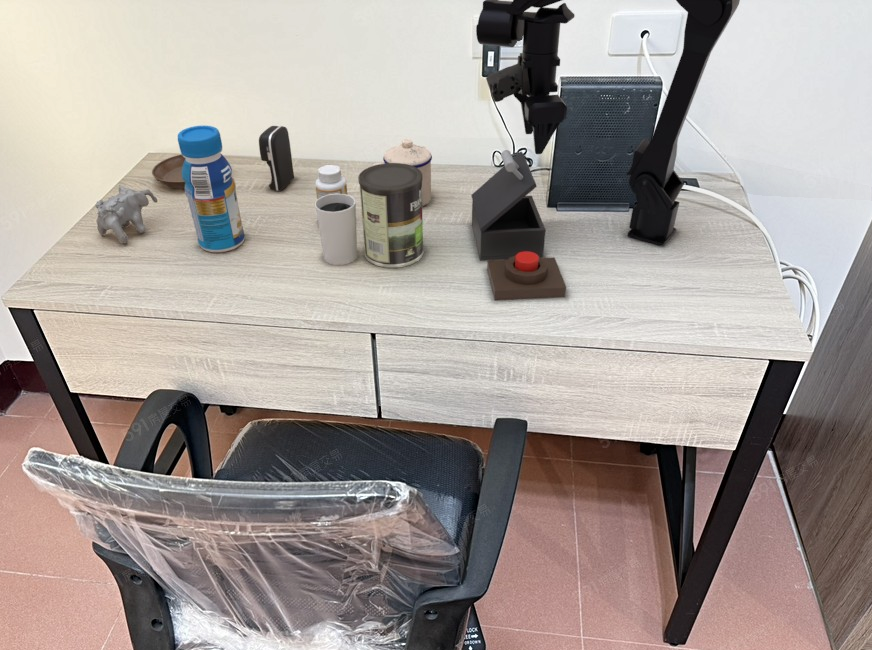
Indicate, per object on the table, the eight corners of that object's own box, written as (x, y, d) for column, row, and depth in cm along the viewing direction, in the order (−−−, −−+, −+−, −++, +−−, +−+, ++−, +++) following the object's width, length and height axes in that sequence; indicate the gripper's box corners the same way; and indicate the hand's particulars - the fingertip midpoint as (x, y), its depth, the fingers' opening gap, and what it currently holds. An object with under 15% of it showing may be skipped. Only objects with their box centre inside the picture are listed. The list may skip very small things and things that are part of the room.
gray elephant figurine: (91, 242, 128) (77, 203, 123) (129, 212, 137) (117, 174, 132) (135, 248, 126) (123, 208, 121) (171, 217, 135) (161, 179, 130)
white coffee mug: (342, 242, 125) (337, 189, 119) (367, 255, 122) (363, 202, 115) (313, 256, 122) (306, 203, 115) (338, 270, 118) (332, 216, 112)
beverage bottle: (189, 243, 127) (160, 134, 114) (227, 226, 131) (204, 118, 118) (216, 259, 122) (190, 147, 109) (255, 240, 127) (235, 130, 114)
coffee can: (428, 240, 125) (427, 163, 116) (417, 270, 117) (415, 191, 108) (371, 236, 127) (366, 160, 118) (357, 265, 119) (350, 187, 110)
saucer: (142, 179, 149) (138, 166, 147) (204, 157, 156) (201, 145, 154) (177, 201, 140) (173, 188, 138) (240, 177, 148) (238, 165, 146)
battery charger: (279, 176, 147) (270, 121, 140) (295, 178, 146) (287, 123, 139) (263, 190, 142) (254, 135, 135) (281, 192, 141) (272, 136, 134)
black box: (529, 222, 129) (532, 195, 125) (542, 258, 119) (545, 229, 116) (471, 225, 129) (472, 198, 125) (479, 261, 119) (481, 233, 116)
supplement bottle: (334, 211, 134) (329, 160, 128) (356, 220, 132) (351, 167, 125) (313, 223, 131) (307, 170, 125) (335, 232, 128) (329, 178, 122)
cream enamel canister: (434, 189, 140) (433, 131, 133) (430, 211, 133) (429, 151, 126) (374, 188, 142) (370, 131, 134) (367, 209, 135) (363, 150, 127)
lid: (523, 154, 120) (506, 135, 118) (537, 186, 111) (519, 167, 109) (473, 197, 125) (456, 180, 123) (482, 232, 115) (464, 214, 113)
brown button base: (553, 267, 117) (555, 248, 115) (565, 297, 110) (567, 278, 108) (487, 270, 117) (487, 251, 114) (494, 301, 110) (495, 281, 108)
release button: (535, 260, 113) (536, 250, 112) (539, 272, 110) (540, 262, 109) (513, 261, 113) (513, 251, 112) (516, 273, 110) (517, 263, 109)
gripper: (483, 37, 122) (481, 127, 132) (499, 70, 108) (495, 168, 118) (547, 33, 122) (540, 123, 132) (572, 65, 108) (562, 163, 118)
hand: (533, 143), depth 125 cm, fingers open, 9 cm apart
